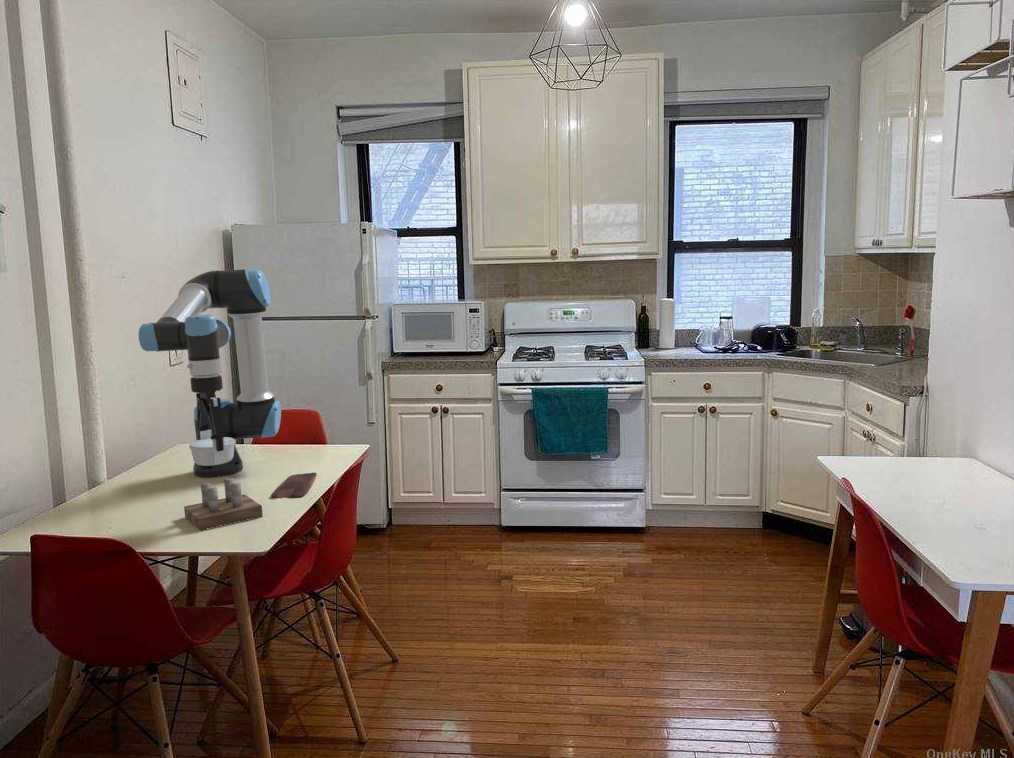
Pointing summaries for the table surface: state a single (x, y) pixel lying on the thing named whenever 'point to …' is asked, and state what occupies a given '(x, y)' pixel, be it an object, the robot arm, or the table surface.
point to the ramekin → (210, 451)
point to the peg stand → (222, 506)
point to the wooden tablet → (295, 486)
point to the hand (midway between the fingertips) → (213, 458)
